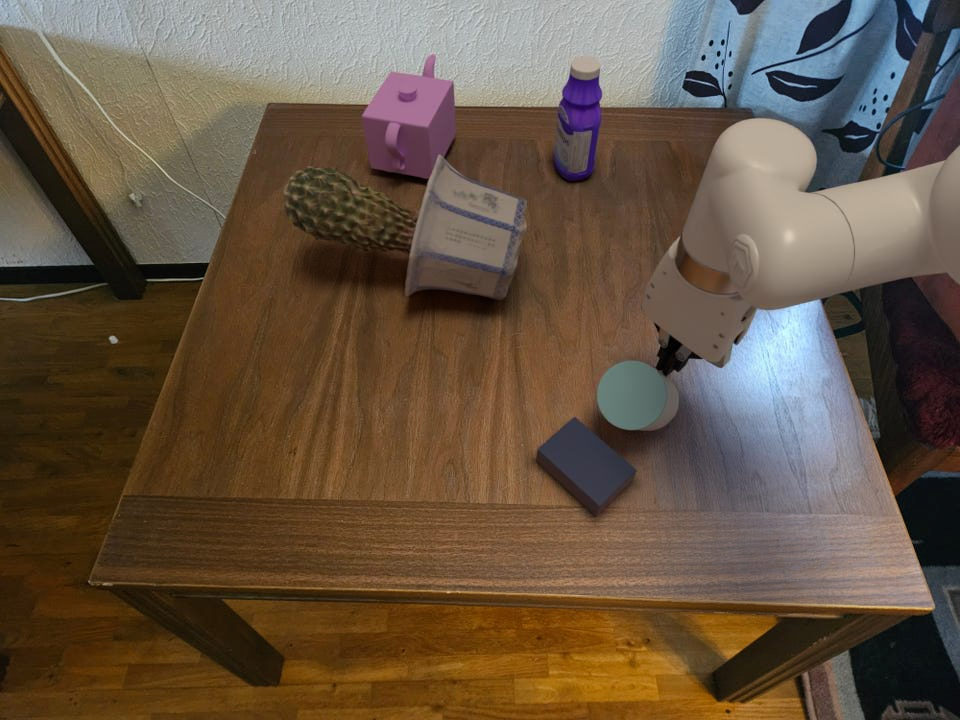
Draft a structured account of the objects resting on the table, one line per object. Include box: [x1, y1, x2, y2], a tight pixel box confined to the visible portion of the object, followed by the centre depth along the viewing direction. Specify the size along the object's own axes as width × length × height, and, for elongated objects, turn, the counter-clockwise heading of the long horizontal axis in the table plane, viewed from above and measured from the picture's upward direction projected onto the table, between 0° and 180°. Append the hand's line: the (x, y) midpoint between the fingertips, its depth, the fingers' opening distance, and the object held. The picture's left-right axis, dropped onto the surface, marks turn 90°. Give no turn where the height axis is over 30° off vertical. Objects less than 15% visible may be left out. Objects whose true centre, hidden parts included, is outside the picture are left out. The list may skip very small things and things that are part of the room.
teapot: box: [361, 54, 457, 180], centre depth 98 cm, size 20×10×12 cm, turn 164°
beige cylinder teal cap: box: [596, 360, 680, 432], centre depth 70 cm, size 10×7×10 cm
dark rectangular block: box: [535, 416, 638, 518], centre depth 69 cm, size 9×6×3 cm, turn 43°
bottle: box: [553, 55, 603, 182], centre depth 93 cm, size 7×6×17 cm
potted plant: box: [282, 155, 529, 301], centre depth 81 cm, size 18×18×30 cm
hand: (668, 365), depth 72 cm, fingers closed
